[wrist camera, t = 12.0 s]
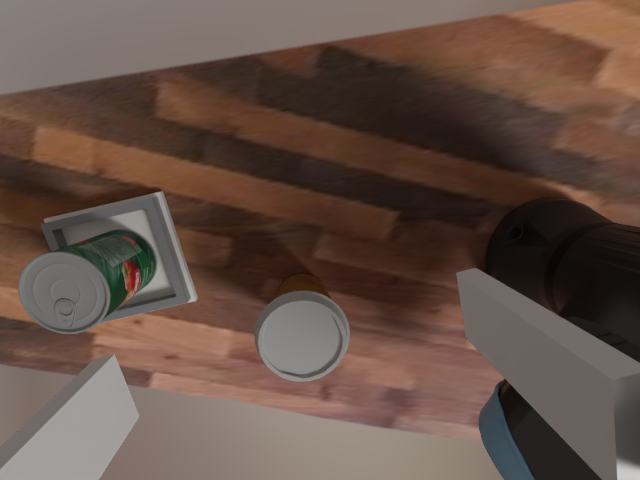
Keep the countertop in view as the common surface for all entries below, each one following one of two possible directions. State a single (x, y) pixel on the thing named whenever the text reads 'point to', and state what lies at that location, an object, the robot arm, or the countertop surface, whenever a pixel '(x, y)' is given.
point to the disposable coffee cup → (302, 330)
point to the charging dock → (149, 222)
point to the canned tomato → (86, 280)
